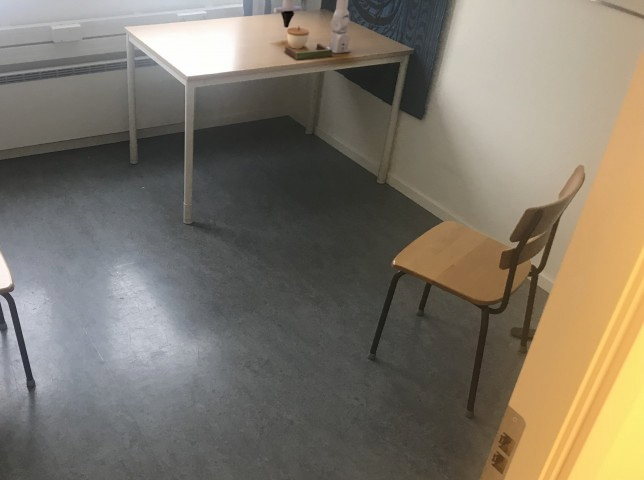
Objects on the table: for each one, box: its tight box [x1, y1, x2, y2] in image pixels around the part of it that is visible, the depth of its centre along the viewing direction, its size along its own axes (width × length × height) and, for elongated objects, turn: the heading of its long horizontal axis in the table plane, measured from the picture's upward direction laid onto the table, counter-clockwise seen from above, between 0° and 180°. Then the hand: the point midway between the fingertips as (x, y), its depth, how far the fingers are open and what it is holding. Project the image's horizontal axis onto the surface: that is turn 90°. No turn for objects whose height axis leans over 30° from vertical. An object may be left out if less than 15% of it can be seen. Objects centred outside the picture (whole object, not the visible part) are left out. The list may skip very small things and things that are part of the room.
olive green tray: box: [284, 43, 333, 61], centre depth 339 cm, size 12×19×3 cm, turn 111°
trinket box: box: [286, 26, 310, 50], centre depth 346 cm, size 11×11×9 cm
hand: (286, 27), depth 354 cm, fingers closed
